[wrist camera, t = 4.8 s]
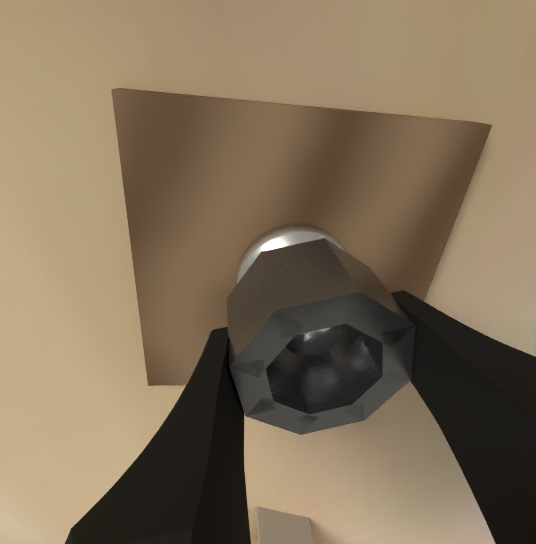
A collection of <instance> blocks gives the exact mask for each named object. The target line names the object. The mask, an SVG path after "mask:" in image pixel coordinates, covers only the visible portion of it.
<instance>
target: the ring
mask: <svg viewBox="0 0 536 544" xmlns="http://www.w3.org/2000/svg"><path fill="white" fill-rule="evenodd" d="M227 322H228V348H229V368H230V371H231V374H232V377H233V380H234V383H235V386H236V389H237V392H238V395H239V398H240V401H241V404H242V407H243V410H244V413H245V416H246V417H249V418H252V419H255V420H258V421H261V422H264V423H267V424H270V425H273V426H276V427H279V428H282V429H285V430H288V431H291V432H294V433H297V434H300V435H302V434H306V433H310V432H315V431H319V430H324V429H328V428H332V427H337V426H341V425H345V424H350V423H354V422H359V421H363V420H365V419H366V418H368V417H369V416H370V415H371V414H372V413H373V412H374V411H376V410H377V409H378V408H379V407H380V406H381V405H382V404H383V403H385V402H386V401H387V400H388V399H389V398H390V397H391V396H393V395H394V394H395V393H396V392H397V391H398V390H399V389H400V388H402V387H403V386H404V385H405V384H406V383H407V382H408V381H410V380H411V379H412V369H413V356H414V342H415V329H416V325H415V324H414V322H413V321H412V320H411V319H410V317H409V316H408V315H407V314H406V312H405V311H404V310H403V309H402V307H401V306H400V305H399V304H398V302H397V301H396V300H395V298H394V297H393V296H392V295H391V293H390V292H389V291H388V290H387V288H386V287H385V286H384V285H383V283H382V282H381V281H380V280H379V278H378V277H377V276H376V275H375V273H374V272H373V271H372V270H371V268H370V267H368V266H367V265H365V264H364V263H362V262H361V261H359V260H358V259H356V258H354V257H353V256H351V255H350V254H348V253H347V252H345V251H344V250H342V249H341V248H339V247H337V246H336V245H334V244H333V243H331V242H330V241H328V240H327V239H325V238H322V239H318V240H313V241H308V242H304V243H299V244H295V245H290V246H285V247H281V248H276V249H271V250H267V251H262V252H260V254H259V255H258V256H257V258H256V259H255V261H254V262H253V263H252V265H251V266H250V267H249V269H248V270H247V271H246V273H245V274H244V275H243V277H242V278H241V280H240V281H239V282H238V284H237V285H236V286H235V288H234V289H233V290H232V292H231V293H230V295H229V296H228V297H227ZM338 325H342V332H341V336H340V338H339V340H338V341H337V342H336V344H335V345H334V346H332V347H331V348H330V349H328V350H327V351H325V352H323V353H320V354H317V355H312V356H302V355H298V354H295V353H293V352H291V351H289V350H288V349H287V348H286V347H285V346H286V345H287V344H288V343H289V342H290V341H291V340H292V338H293V337H294V336H295V335H298V334H302V333H307V332H311V331H316V330H320V329H325V328H329V327H334V326H338Z"/></svg>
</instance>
